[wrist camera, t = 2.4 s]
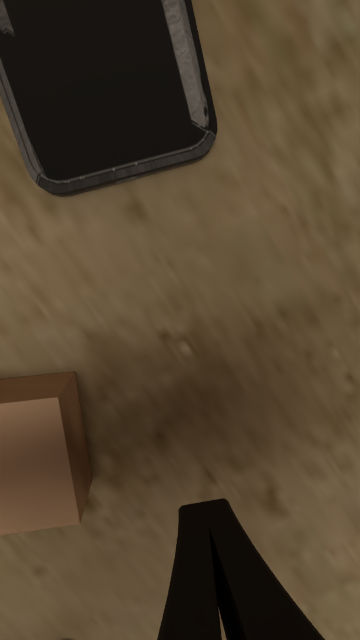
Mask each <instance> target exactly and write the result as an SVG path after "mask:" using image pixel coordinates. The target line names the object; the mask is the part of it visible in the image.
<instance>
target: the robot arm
mask: <svg viewBox="0 0 360 640" xmlns="http://www.w3.org/2000/svg"><path fill="white" fill-rule="evenodd" d="M218 607H219V610H218ZM219 611H220V615H221V619H222V623H223V627H224V631H225V635H226V639H227V640H325V639H324V638H323V637H322V636H321V634H320V633H319V632H318V631H317V630H316V628H315V627H314V626H313V625H312V623H311V622H310V621H309V620H308V619H307V617H306V616H305V615H304V614H303V612H302V611H301V610H300V608H299V607H298V606H297V605H296V603H295V602H294V601H293V599H292V598H291V597H290V596H289V594H288V593H287V592H286V590H285V589H284V588H283V586H282V585H281V584H280V582H279V581H278V580H277V578H276V577H275V575H274V574H273V573H272V571H271V570H270V568H269V567H268V565H267V564H266V563H265V561H264V560H263V558H262V557H261V555H260V554H259V553H258V551H257V550H256V548H255V547H254V545H253V544H252V542H251V540H250V539H249V537H248V536H247V534H246V533H245V531H244V529H243V528H242V526H241V524H240V523H239V521H238V519H237V518H236V516H235V514H234V512H233V510H232V508H231V506H230V504H229V502H228V501H227V500H226V499H224V498H223V499H217V500H211V501H206V502H200V503H194V504H188V505H183V506H181V507H180V509H179V525H178V537H177V545H176V552H175V559H174V564H173V570H172V576H171V581H170V587H169V591H168V596H167V601H166V605H165V609H164V613H163V618H162V622H161V626H160V630H159V635H158V639H157V640H222V637H221V628H220V619H219Z"/></svg>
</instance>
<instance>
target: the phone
mask: <svg viewBox="0 0 360 640" xmlns="http://www.w3.org/2000/svg"><path fill="white" fill-rule="evenodd" d="M0 95H1V98H2V101H3V104H4V107H5V109H6V112H7V115H8V118H9V121H10V123H11V126H12V129H13V132H14V135H15V137H16V140H17V143H18V146H19V149H20V151H21V154H22V157H23V160H24V163H25V165H26V168H27V171H28V172H29V174H30V176H31V178H32V179H33V180H34V181H35V183H36V184H37V185H38V186H40V187H41V188H43V189H44V190H46V191H48V192H49V193H51V194H53V195H56V196H61V197H67V196H73V195H77V194H81V193H84V192H88V191H92V190H96V189H99V188H103V187H107V186H110V185H114V184H118V183H122V182H125V181H129V180H133V179H137V178H140V177H144V176H148V175H151V174H155V173H159V172H163V171H166V170H170V169H174V168H177V167H181V166H185V165H189V164H192V163H195V162H197V161H199V160H201V159H202V158H203V157H204V156H206V155H207V154H208V152H209V150H210V148H211V146H212V144H213V143H214V141H215V138H216V134H217V119H216V114H215V110H214V105H213V100H212V96H211V91H210V86H209V82H208V77H207V72H206V68H205V63H204V58H203V54H202V49H201V44H200V40H199V35H198V30H197V25H196V21H195V16H194V11H193V7H192V2H191V0H0ZM82 191H83V192H82Z"/></svg>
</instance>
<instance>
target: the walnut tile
mask: <svg viewBox="0 0 360 640" xmlns="http://www.w3.org/2000/svg"><path fill="white" fill-rule="evenodd" d="M91 481H92V476H91V469H90V463H89V457H88V451H87V444H86V438H85V432H84V426H83V419H82V413H81V407H80V401H79V394H78V388H77V382H76V376H75V372H66V373H56V374H47V375H37V376H27V377H18V378H8V379H0V535H6V534H13V533H20V532H27V531H34V530H41V529H49V528H56V527H63V526H70V525H77V524H80V523H81V519H82V515H83V511H84V508H85V504H86V500H87V496H88V493H89V489H90V485H91Z"/></svg>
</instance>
